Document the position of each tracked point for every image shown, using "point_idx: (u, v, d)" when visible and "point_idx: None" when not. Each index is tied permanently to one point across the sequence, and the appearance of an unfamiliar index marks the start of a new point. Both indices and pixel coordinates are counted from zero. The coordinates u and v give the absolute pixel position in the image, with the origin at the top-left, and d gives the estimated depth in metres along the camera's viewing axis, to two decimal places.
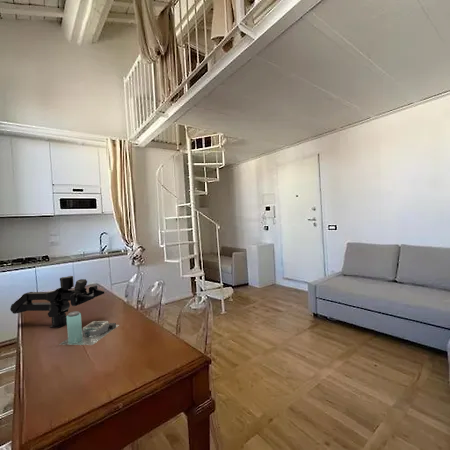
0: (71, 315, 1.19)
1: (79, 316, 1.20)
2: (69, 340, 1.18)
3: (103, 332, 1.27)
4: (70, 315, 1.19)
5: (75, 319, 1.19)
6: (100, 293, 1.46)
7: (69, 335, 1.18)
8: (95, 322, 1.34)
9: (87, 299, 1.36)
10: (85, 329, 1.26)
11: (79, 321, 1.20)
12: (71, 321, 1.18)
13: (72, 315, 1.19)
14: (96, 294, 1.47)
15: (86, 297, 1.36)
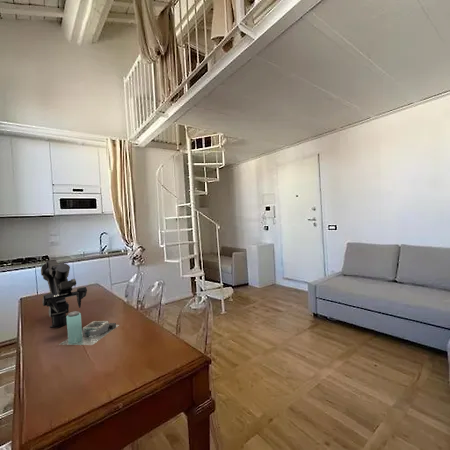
0: (71, 315, 1.19)
1: (79, 316, 1.20)
2: (69, 340, 1.18)
3: (103, 332, 1.27)
4: (70, 315, 1.19)
5: (75, 319, 1.19)
6: (78, 304, 1.31)
7: (69, 335, 1.18)
8: (95, 322, 1.34)
9: (54, 309, 1.24)
10: (85, 329, 1.26)
11: (79, 321, 1.20)
12: (71, 321, 1.18)
13: (72, 315, 1.19)
14: (77, 300, 1.33)
15: (54, 307, 1.24)
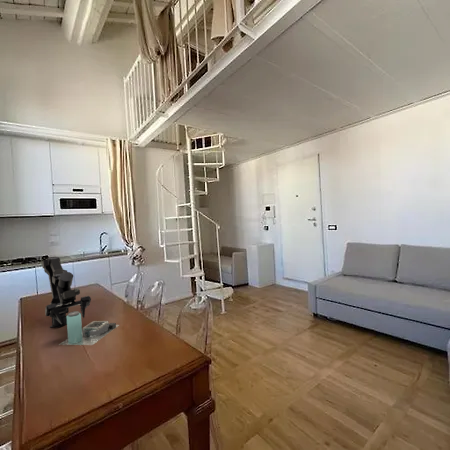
0: (71, 315, 1.19)
1: (79, 316, 1.20)
2: (69, 340, 1.18)
3: (103, 332, 1.27)
4: (70, 315, 1.19)
5: (75, 319, 1.19)
6: (82, 314, 1.27)
7: (69, 335, 1.18)
8: (95, 322, 1.34)
9: (57, 319, 1.20)
10: (85, 329, 1.26)
11: (79, 321, 1.20)
12: (71, 321, 1.18)
13: (72, 315, 1.19)
14: (81, 309, 1.29)
15: (57, 317, 1.20)
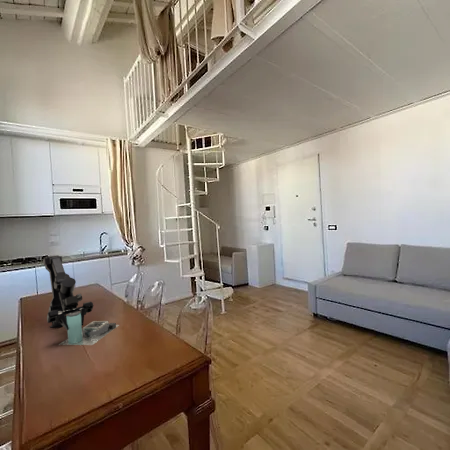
0: (71, 315, 1.19)
1: (79, 316, 1.20)
2: (69, 340, 1.18)
3: (103, 332, 1.27)
4: (70, 315, 1.19)
5: (75, 319, 1.19)
6: (81, 321, 1.23)
7: (69, 335, 1.18)
8: (95, 322, 1.34)
9: (63, 325, 1.19)
10: (85, 329, 1.26)
11: (79, 321, 1.20)
12: (71, 321, 1.18)
13: (72, 315, 1.19)
14: None
15: (63, 323, 1.18)
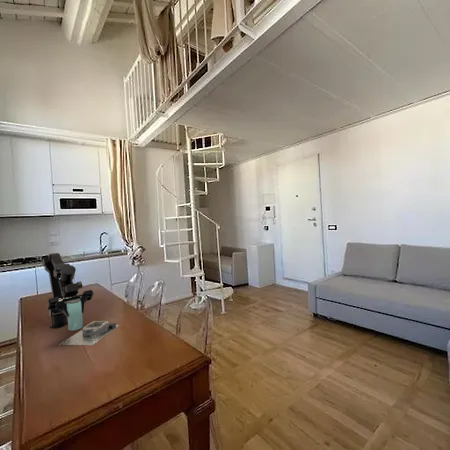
0: (71, 302, 1.19)
1: (79, 303, 1.21)
2: (69, 327, 1.19)
3: (103, 332, 1.27)
4: (70, 302, 1.19)
5: (75, 306, 1.19)
6: None
7: (69, 322, 1.19)
8: (95, 322, 1.34)
9: (63, 312, 1.19)
10: (85, 329, 1.26)
11: (79, 308, 1.21)
12: (71, 308, 1.18)
13: (72, 302, 1.19)
14: None
15: (63, 310, 1.19)
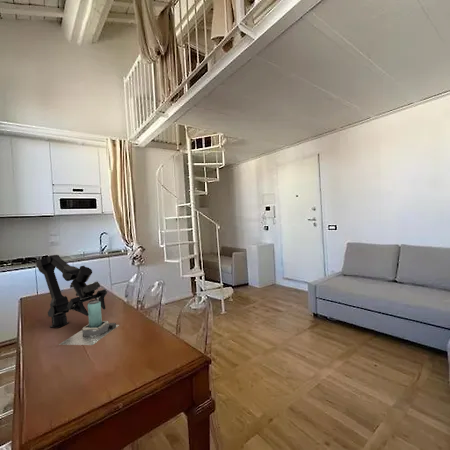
0: (93, 302, 1.28)
1: (100, 303, 1.30)
2: (92, 326, 1.27)
3: (103, 332, 1.27)
4: (92, 303, 1.27)
5: (97, 306, 1.28)
6: (102, 306, 1.34)
7: (92, 321, 1.27)
8: None
9: (82, 312, 1.25)
10: (85, 329, 1.26)
11: (100, 308, 1.30)
12: (94, 308, 1.27)
13: (94, 302, 1.28)
14: None
15: (82, 310, 1.25)
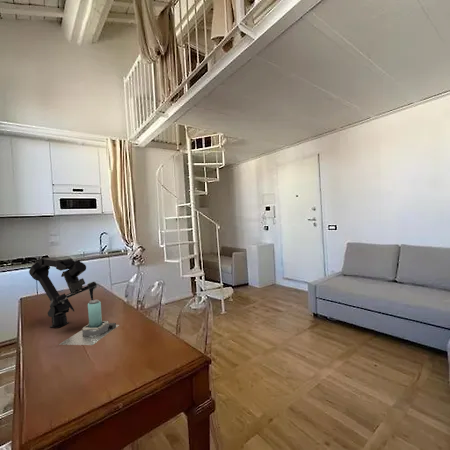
0: (93, 302, 1.28)
1: (100, 303, 1.30)
2: (92, 326, 1.27)
3: (103, 332, 1.27)
4: (92, 303, 1.28)
5: (97, 306, 1.28)
6: (91, 299, 1.39)
7: (92, 321, 1.27)
8: None
9: None
10: (85, 329, 1.26)
11: (100, 308, 1.30)
12: (94, 308, 1.27)
13: (94, 302, 1.28)
14: None
15: (69, 306, 1.33)
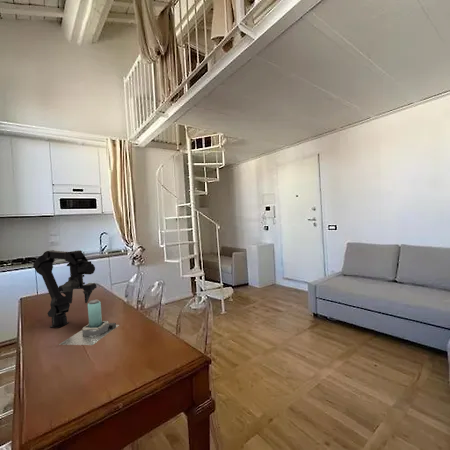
0: (93, 302, 1.28)
1: (100, 303, 1.30)
2: (92, 326, 1.27)
3: (103, 332, 1.27)
4: (92, 303, 1.27)
5: (97, 306, 1.28)
6: None
7: (92, 321, 1.27)
8: None
9: None
10: (85, 329, 1.26)
11: (100, 308, 1.30)
12: (94, 308, 1.27)
13: (94, 302, 1.28)
14: None
15: None
